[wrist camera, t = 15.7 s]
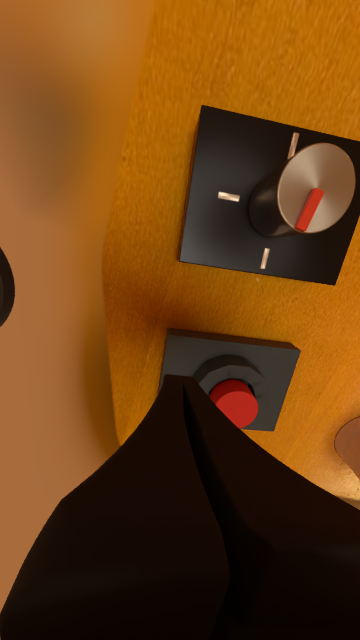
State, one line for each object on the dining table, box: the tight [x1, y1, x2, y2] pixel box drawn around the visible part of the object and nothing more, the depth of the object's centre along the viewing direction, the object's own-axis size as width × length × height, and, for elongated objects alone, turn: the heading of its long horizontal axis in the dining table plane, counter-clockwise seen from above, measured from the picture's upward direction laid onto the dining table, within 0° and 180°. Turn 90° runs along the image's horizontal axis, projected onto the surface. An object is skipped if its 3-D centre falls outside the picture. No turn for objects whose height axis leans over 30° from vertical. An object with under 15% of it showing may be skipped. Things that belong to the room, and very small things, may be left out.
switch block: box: [158, 328, 301, 431], centre depth 20 cm, size 12×9×4 cm
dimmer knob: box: [249, 143, 355, 238], centre depth 13 cm, size 4×4×4 cm
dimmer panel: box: [177, 105, 360, 285], centre depth 16 cm, size 12×9×3 cm
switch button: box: [209, 379, 258, 429], centre depth 18 cm, size 4×4×2 cm
